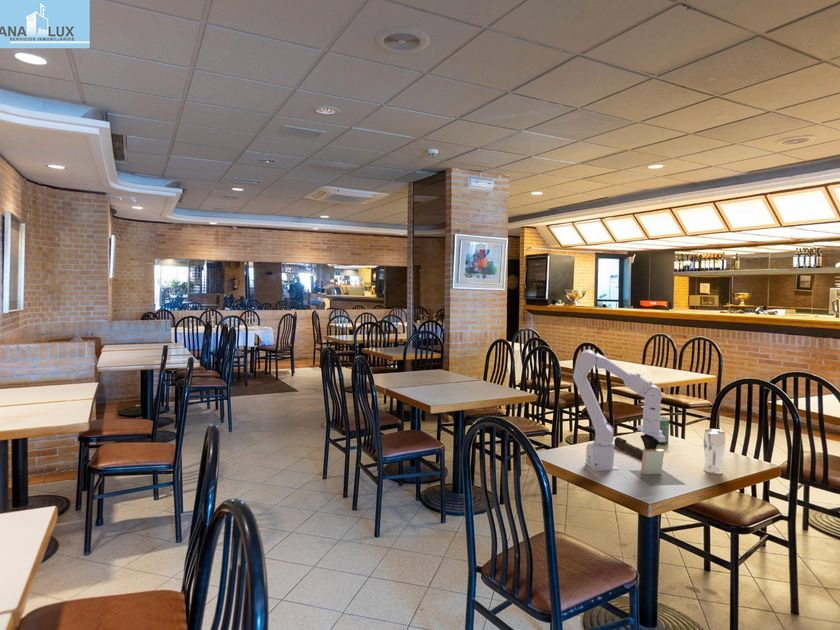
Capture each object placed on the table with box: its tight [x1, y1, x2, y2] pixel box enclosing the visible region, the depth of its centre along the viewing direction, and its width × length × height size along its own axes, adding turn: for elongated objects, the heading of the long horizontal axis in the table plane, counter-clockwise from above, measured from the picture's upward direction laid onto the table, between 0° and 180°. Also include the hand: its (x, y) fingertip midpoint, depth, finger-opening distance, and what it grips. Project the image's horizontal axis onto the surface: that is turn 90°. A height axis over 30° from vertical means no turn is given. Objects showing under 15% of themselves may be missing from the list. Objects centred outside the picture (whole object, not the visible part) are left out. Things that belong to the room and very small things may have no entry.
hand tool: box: [613, 436, 643, 461], centre depth 210 cm, size 19×4×5 cm, turn 13°
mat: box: [629, 469, 687, 486], centre depth 182 cm, size 13×14×1 cm
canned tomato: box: [658, 415, 670, 447], centre depth 223 cm, size 8×8×11 cm
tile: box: [640, 448, 665, 474], centre depth 185 cm, size 7×2×9 cm, turn 96°
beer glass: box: [703, 428, 726, 475], centre depth 189 cm, size 7×7×15 cm
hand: (649, 455), depth 187 cm, fingers closed
